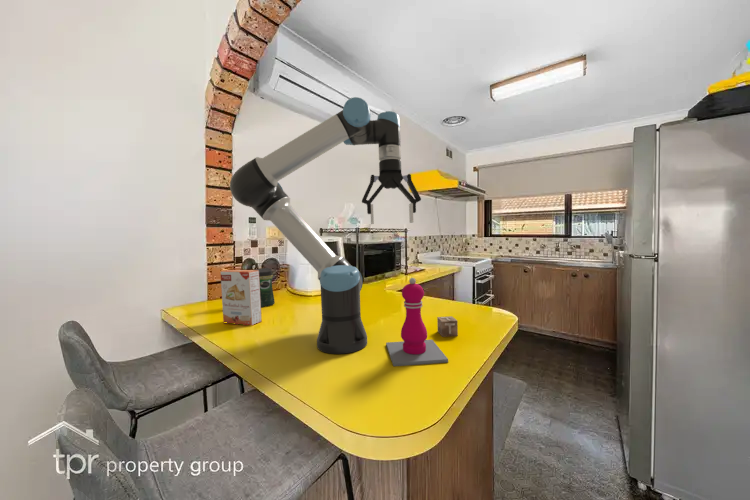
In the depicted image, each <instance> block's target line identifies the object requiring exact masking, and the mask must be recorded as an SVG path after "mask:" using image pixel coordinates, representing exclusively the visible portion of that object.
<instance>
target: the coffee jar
mask: <svg viewBox="0 0 750 500" xmlns="http://www.w3.org/2000/svg"><path fill="white" fill-rule="evenodd" d="M254 270H259V281H260V300H261V308H264V306H266V307H270V305H271V306H273V305H275V295H274V289H273V278H274V275H273V270H272V268H269V267H268V268H267V267H266V268H265V267H263V268H256V269H254Z"/></svg>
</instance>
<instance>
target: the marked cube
mask: <svg viewBox="0 0 750 500" xmlns="http://www.w3.org/2000/svg"><path fill="white" fill-rule="evenodd" d="M458 325H459V324H458V320H457V319H456V318H455V317H453V316H437V333H438V334H439V336H441V337H447V338H448V337H458V335H459V333H458Z"/></svg>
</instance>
